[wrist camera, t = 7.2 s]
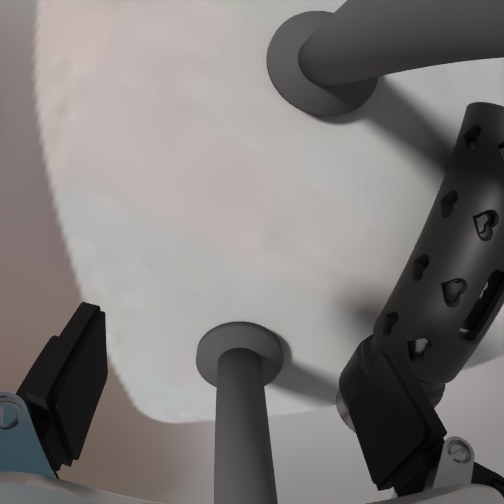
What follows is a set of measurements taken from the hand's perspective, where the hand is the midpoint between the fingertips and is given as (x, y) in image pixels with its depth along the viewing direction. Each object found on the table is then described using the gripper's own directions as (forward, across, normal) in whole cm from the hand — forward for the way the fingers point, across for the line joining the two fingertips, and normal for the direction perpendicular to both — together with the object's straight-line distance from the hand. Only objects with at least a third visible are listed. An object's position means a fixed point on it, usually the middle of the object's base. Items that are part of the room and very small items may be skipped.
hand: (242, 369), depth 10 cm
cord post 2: (+16, -3, -13) cm, 21 cm away
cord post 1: (+16, -3, +13) cm, 21 cm away
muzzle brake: (+16, -17, 0) cm, 23 cm away
